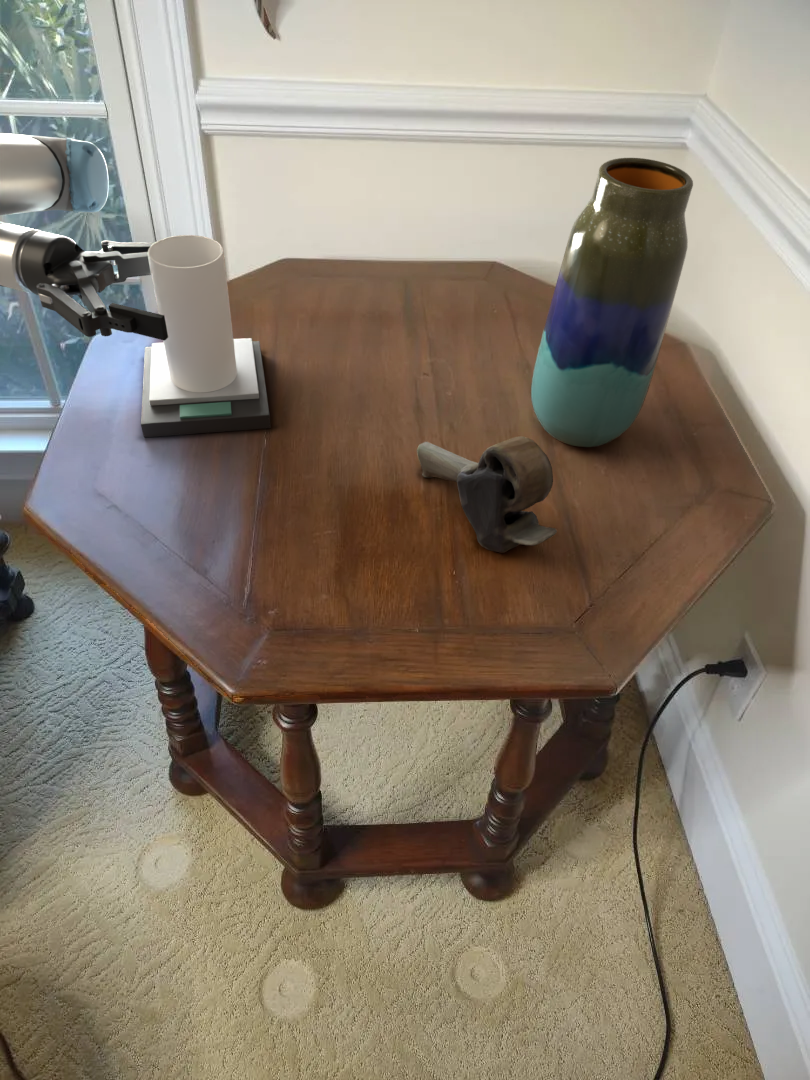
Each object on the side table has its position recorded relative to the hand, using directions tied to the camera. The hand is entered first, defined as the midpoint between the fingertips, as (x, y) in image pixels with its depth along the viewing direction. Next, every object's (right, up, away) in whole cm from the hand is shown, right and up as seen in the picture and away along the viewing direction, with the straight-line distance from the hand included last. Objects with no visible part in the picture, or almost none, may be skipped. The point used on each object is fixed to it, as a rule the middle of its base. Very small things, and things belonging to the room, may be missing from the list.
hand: (196, 300), depth 89 cm
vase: (+46, -14, +9) cm, 49 cm away
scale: (-1, -9, +9) cm, 13 cm away
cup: (-1, -7, +8) cm, 10 cm away
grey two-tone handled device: (+33, -25, -3) cm, 41 cm away
